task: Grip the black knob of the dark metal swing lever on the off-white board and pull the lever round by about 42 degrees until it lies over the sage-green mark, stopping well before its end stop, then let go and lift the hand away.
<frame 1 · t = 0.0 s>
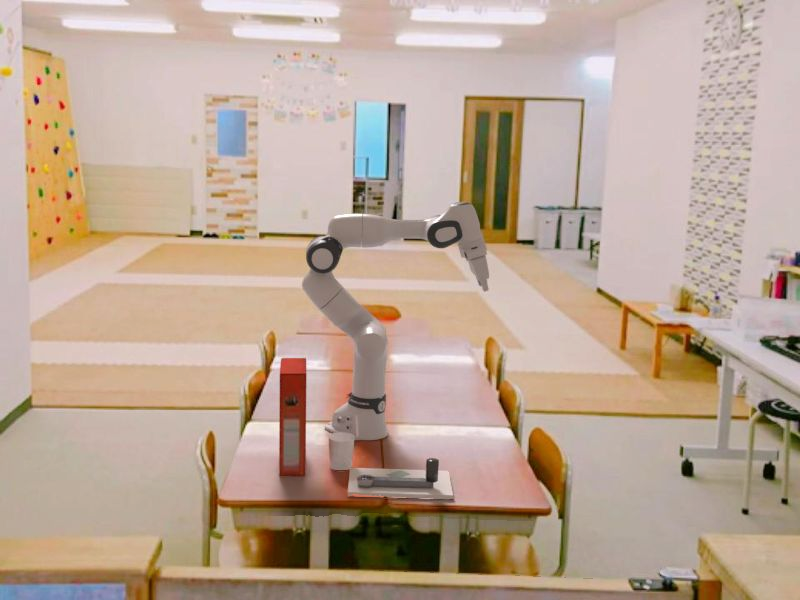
hand: (483, 288, 291), 52 cm above the table, tool tilted 20°, fingers open, 8 cm apart
lever: (397, 472, 251), point 6 cm above the table, hinge at 0.0°
white cup: (340, 468, 268), on the table
lever board: (399, 485, 256), on the table
file binder: (292, 466, 268), on the table
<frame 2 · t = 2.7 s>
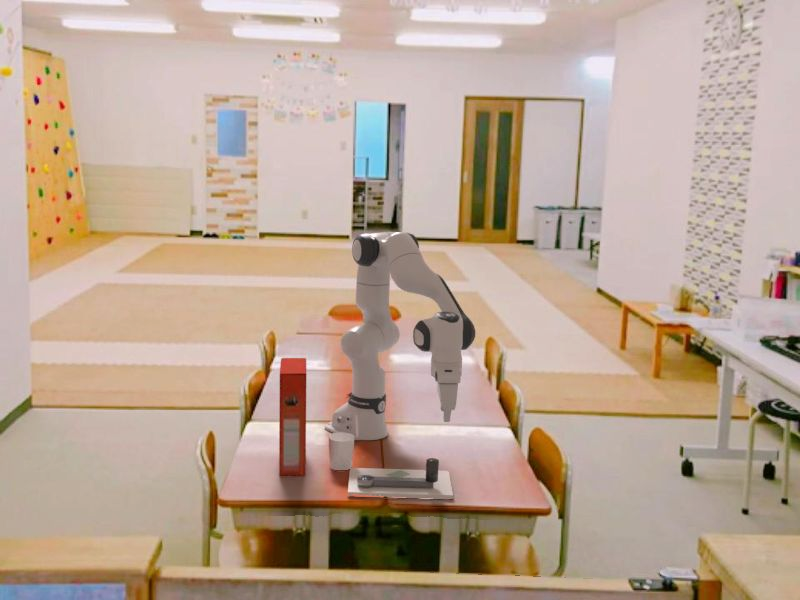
hand: (445, 415, 249), 23 cm above the table, tool pointing down, fingers open, 8 cm apart
nothing on the table moved.
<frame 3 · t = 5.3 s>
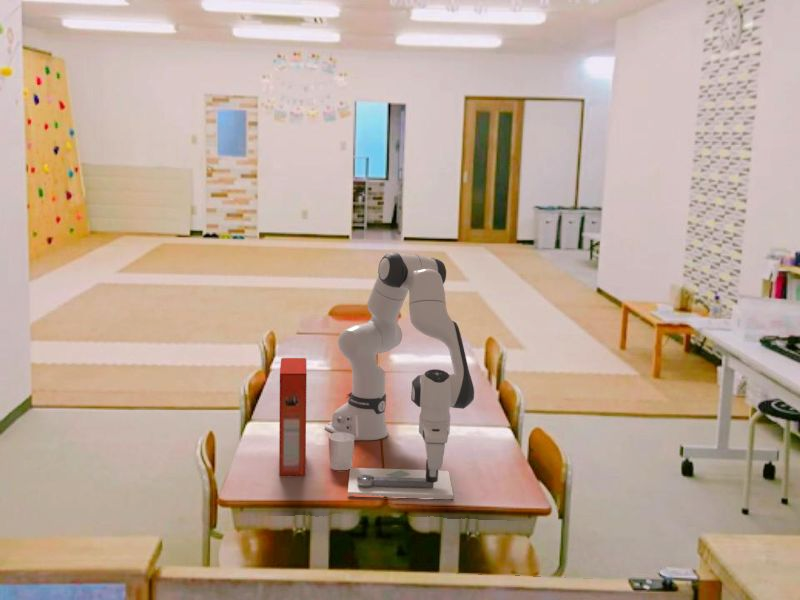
hand: (432, 472, 251), 6 cm above the table, tool pointing down, fingers closed on lever, 4 cm apart
lever: (397, 472, 251), point 6 cm above the table, hinge at 0.0°, touching gripper
everything else where it was.
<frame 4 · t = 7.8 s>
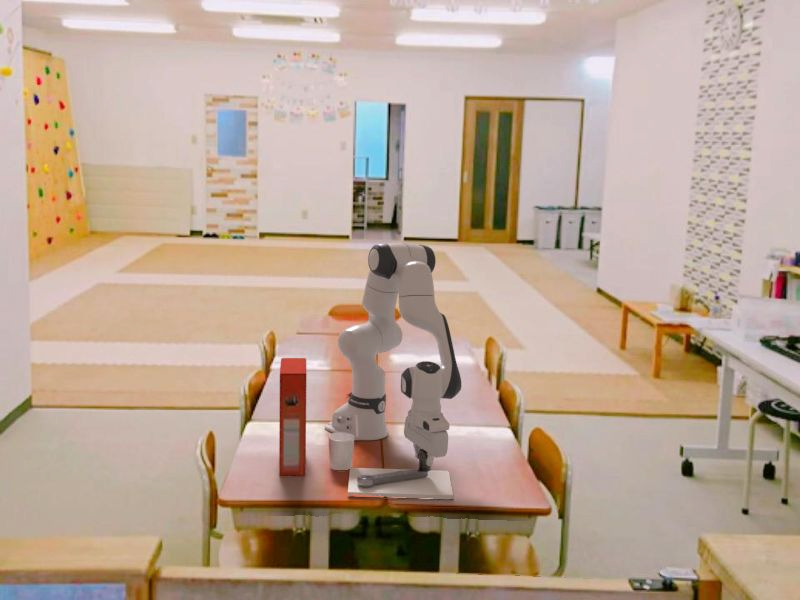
hand: (423, 461, 259), 6 cm above the table, tool pointing down, fingers open, 5 cm apart
lever: (394, 467, 255), point 6 cm above the table, hinge at 24.4°, touching gripper
everything else where it was.
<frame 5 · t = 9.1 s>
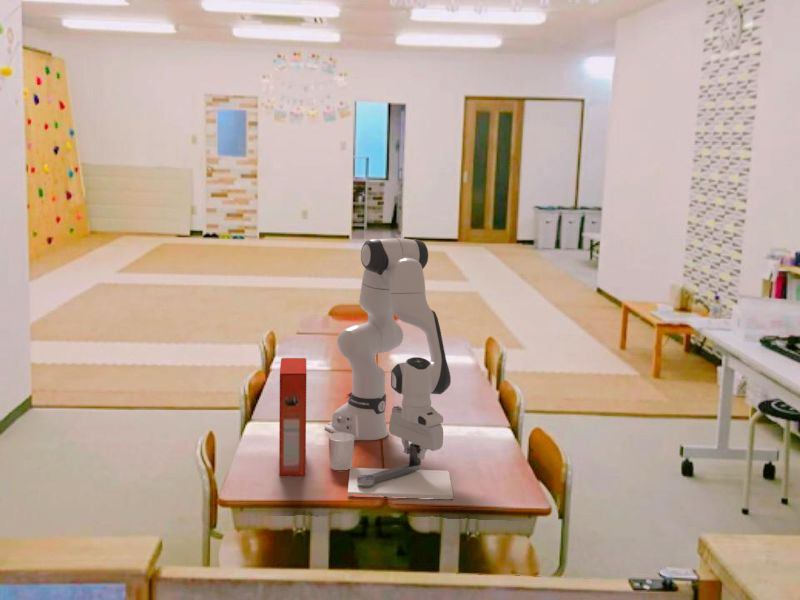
hand: (414, 456, 263), 6 cm above the table, tool pointing down, fingers open, 4 cm apart
lever: (390, 464, 257), point 6 cm above the table, hinge at 39.8°, touching gripper
everything else where it was.
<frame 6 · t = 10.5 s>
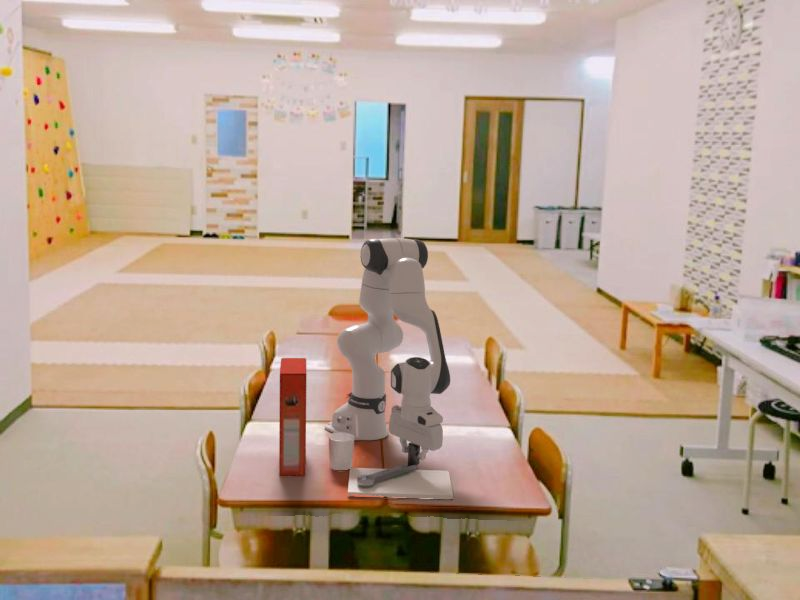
hand: (413, 455, 263), 6 cm above the table, tool pointing down, fingers open, 6 cm apart
lever: (389, 463, 257), point 6 cm above the table, hinge at 41.7°
everything else where it was.
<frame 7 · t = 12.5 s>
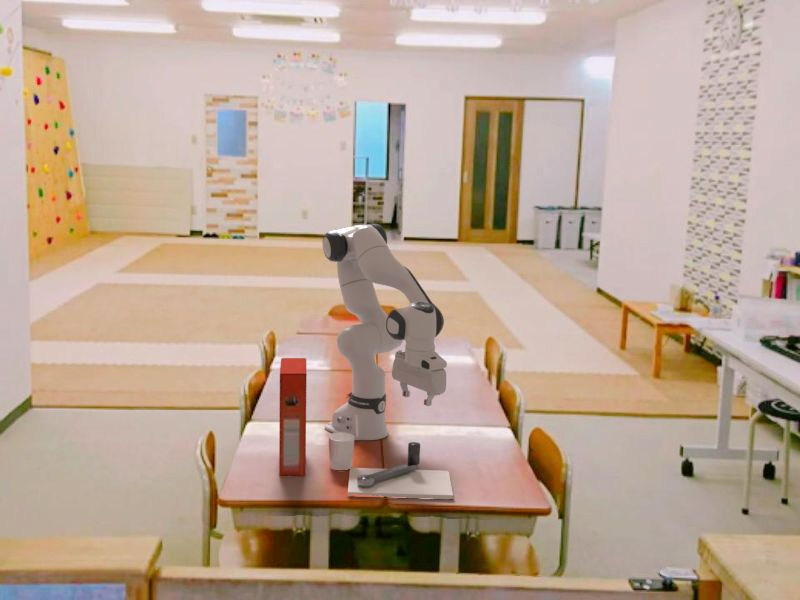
hand: (416, 400, 262), 23 cm above the table, tool pointing down, fingers open, 8 cm apart
nothing on the table moved.
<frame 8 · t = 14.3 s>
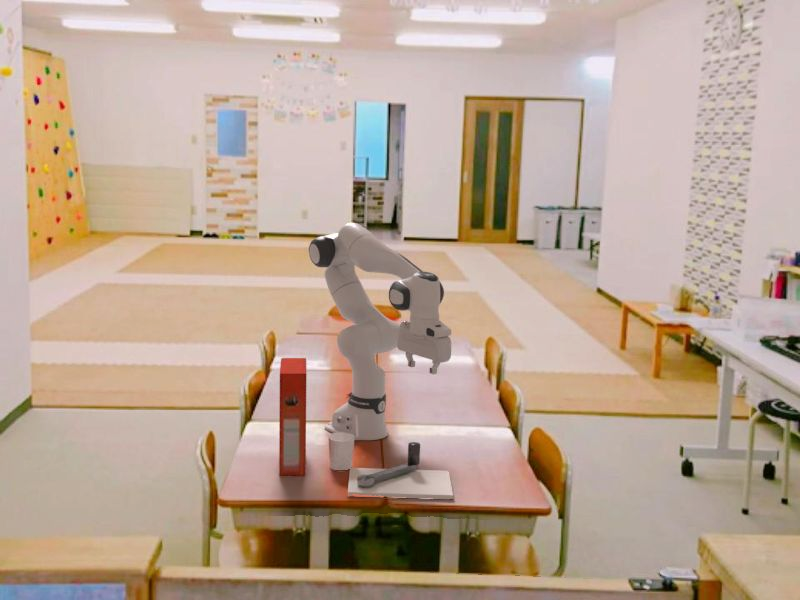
hand: (422, 370, 265), 31 cm above the table, tool pointing down, fingers open, 8 cm apart
nothing on the table moved.
at the end: lever at +42° (first picture: +0°); the gripper is holding nothing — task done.
